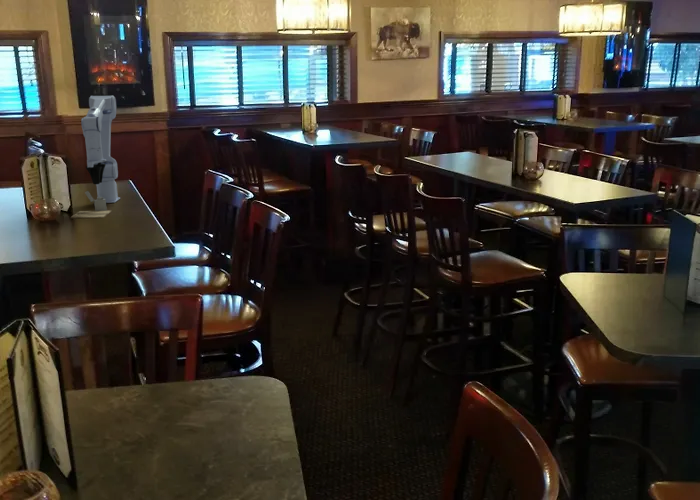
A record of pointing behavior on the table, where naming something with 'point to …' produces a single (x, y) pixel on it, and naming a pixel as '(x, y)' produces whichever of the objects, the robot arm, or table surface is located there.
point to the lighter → (97, 202)
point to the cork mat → (91, 214)
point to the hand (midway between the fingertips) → (97, 183)
